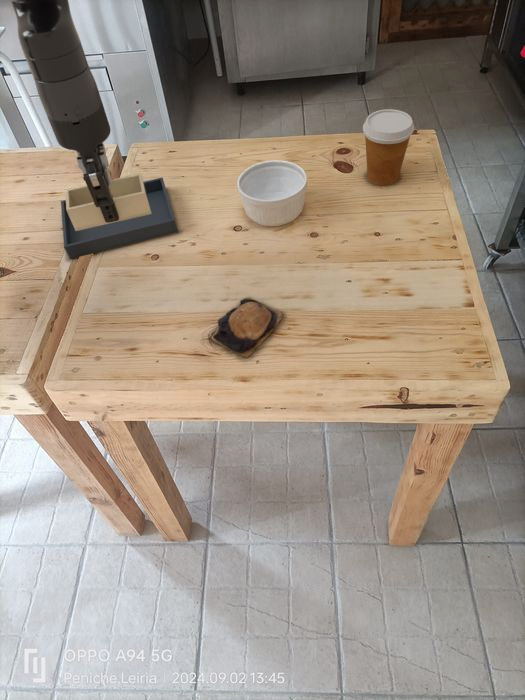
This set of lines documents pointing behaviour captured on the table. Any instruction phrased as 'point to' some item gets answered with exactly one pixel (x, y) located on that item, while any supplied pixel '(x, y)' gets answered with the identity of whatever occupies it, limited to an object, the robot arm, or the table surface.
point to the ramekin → (273, 192)
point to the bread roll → (246, 327)
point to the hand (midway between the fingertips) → (111, 208)
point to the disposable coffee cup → (386, 144)
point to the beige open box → (126, 198)
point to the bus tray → (122, 226)
